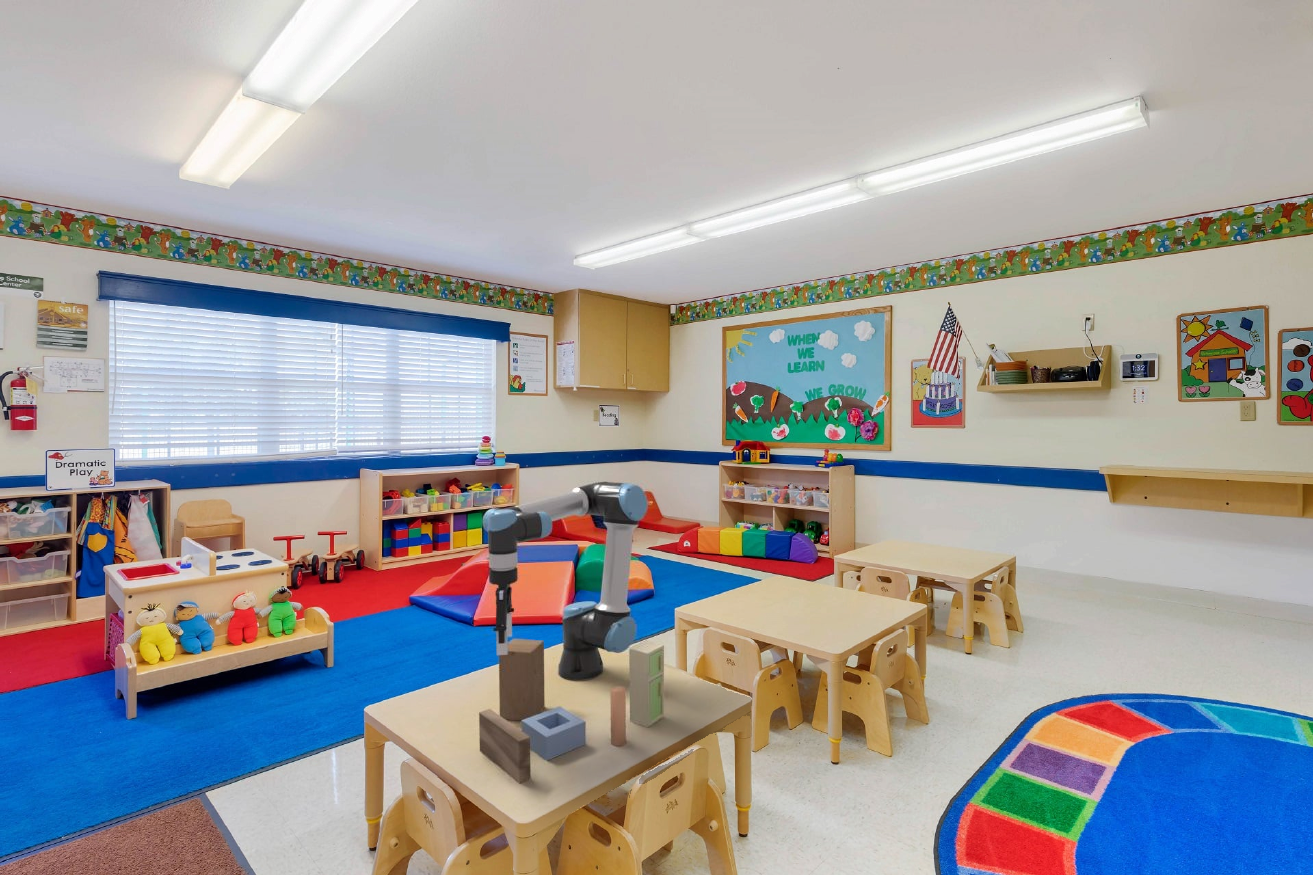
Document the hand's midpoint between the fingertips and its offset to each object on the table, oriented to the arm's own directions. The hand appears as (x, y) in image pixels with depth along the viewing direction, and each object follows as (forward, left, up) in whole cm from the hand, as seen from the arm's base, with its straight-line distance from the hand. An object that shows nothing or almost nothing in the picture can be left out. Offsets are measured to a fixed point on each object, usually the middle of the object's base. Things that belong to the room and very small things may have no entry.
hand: (504, 645), depth 171 cm
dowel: (-19, +25, -24) cm, 40 cm away
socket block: (-6, +14, -24) cm, 29 cm away
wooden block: (-9, -7, -24) cm, 27 cm away
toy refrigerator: (-33, +21, -24) cm, 46 cm away
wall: (+8, +14, -24) cm, 29 cm away
